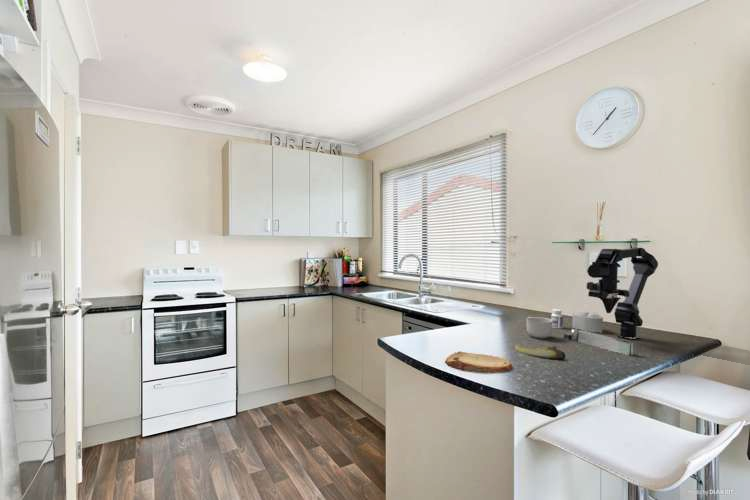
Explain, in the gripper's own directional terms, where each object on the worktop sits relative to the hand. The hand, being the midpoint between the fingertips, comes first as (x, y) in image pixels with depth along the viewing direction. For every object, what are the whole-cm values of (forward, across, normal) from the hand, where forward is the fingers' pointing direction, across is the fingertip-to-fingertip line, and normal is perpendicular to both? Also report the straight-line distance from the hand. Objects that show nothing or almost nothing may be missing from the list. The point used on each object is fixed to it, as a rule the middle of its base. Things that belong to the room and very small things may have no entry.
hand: (608, 313), depth 154 cm
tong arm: (+12, +12, +7) cm, 19 cm away
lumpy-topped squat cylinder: (+12, -11, -17) cm, 24 cm away
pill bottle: (+12, 0, -26) cm, 29 cm away
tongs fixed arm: (+12, +14, +4) cm, 19 cm away
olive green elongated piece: (+13, +45, +3) cm, 47 cm away
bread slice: (+13, +76, +8) cm, 77 cm away
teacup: (+12, +24, -16) cm, 31 cm away
